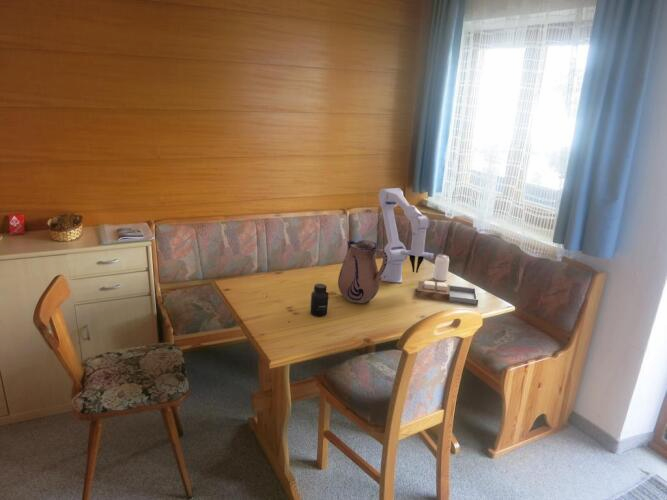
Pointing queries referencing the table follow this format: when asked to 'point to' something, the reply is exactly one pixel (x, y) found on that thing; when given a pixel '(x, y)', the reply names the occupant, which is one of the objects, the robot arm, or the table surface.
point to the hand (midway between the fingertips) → (415, 271)
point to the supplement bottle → (319, 301)
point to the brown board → (433, 292)
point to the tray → (463, 295)
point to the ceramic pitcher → (361, 272)
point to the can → (441, 267)
